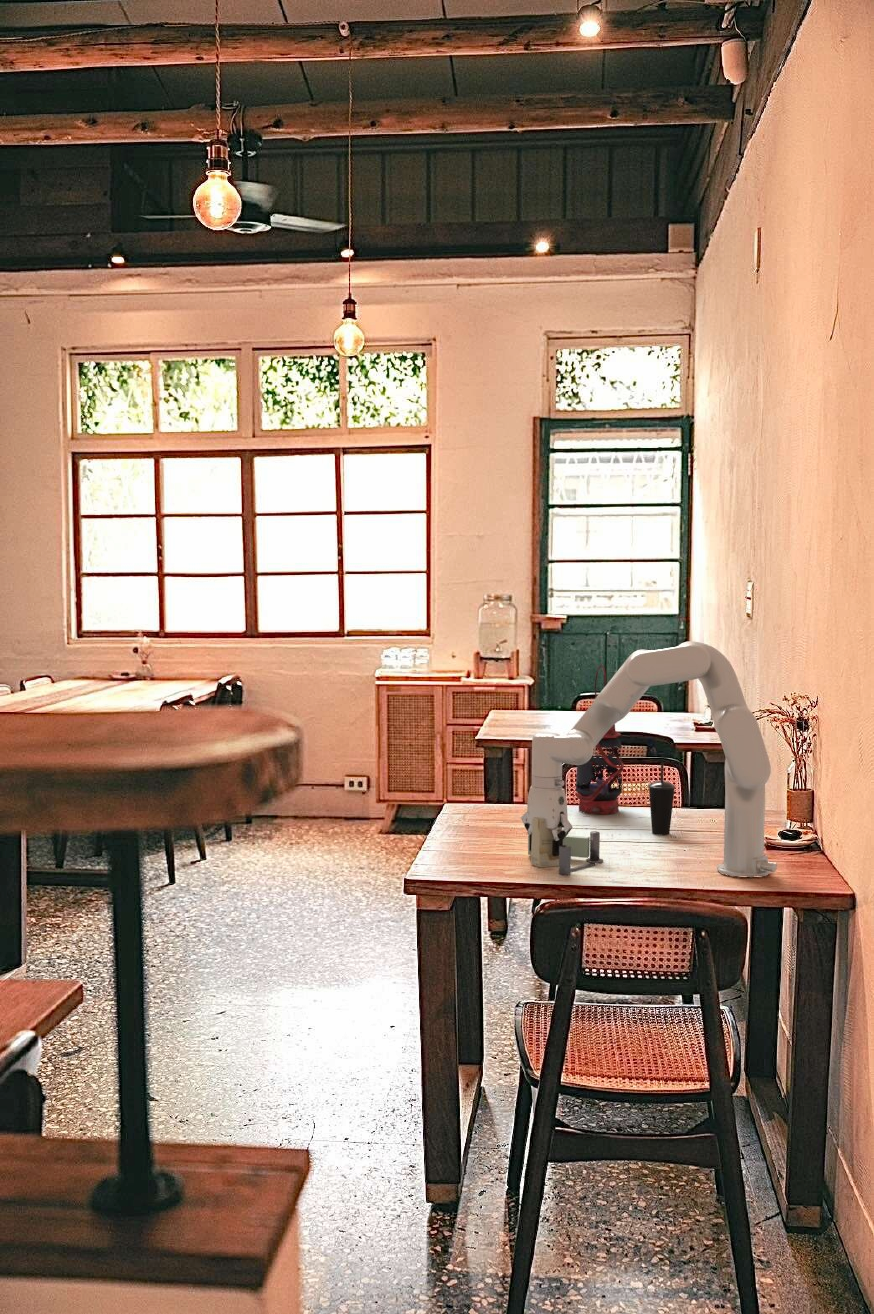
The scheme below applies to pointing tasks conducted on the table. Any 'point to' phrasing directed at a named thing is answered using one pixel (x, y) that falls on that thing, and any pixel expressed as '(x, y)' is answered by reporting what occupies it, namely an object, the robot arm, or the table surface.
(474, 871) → the table surface
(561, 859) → the latch post
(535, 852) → the skincare box
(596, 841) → the dark grey rounded knob
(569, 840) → the gate
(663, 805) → the drinking cup
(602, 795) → the lantern
